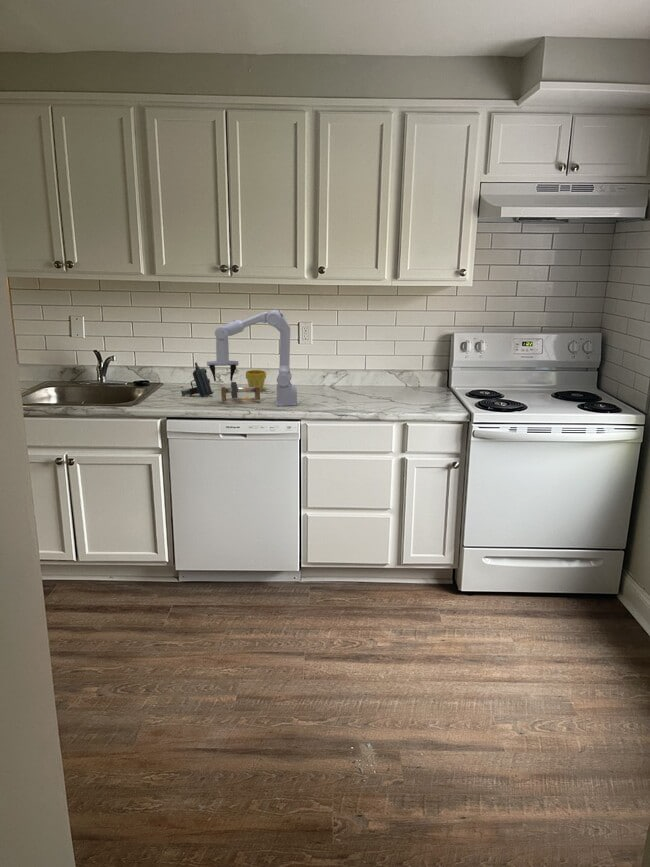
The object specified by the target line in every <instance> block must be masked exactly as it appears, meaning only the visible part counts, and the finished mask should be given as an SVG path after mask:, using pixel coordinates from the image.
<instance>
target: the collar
mask: <svg viewBox="0 0 650 867" xmlns="http://www.w3.org/2000/svg"><path fill="white" fill-rule="evenodd" d="M237 387H238V383H237V381H230V388H232V393H231V398H238V392H237Z"/></svg>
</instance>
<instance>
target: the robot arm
mask: <svg viewBox="0 0 650 867" xmlns="http://www.w3.org/2000/svg"><path fill="white" fill-rule="evenodd" d="M259 323H262V324H266V323H267V324H268V325H269V326H271V327H273V328H275V329H276V330H277V331H278V332H279V369H278V374H277V377H276V383H277V384H276V400H275V401H274V403H275V405H276V406H277V407H280V406H281V407H286V406H298V404H297V403H298V398H297V396H298V392H297V390H298V389H297V385H293V383H292V382H291V380H292V376H293V375H292V374H291V373H292V372H291V368H290V361H291V360H290V357H291V356H290V354H291V353H290V352H291V351H290V350H291V326H290V324H289V323H288V321H287V319H286V318H285V315H284V314H283V313H282V312H281V311H280V310H278V309H272V310H270V311H269V310H268V311H264V312H260V313H258V314H256V315H253V316H252V317H249V318H245V319H244V320H240V319H235V318H234V319H232V321H231V322H227V323H223V325H220V326H218V327H217V328H216V329H215V330H214V336H215V349H216V350H215V354H216V355H215V357H216V360H209V361H206V366H207V367H209V369H210V371H211V374H212V376H213V381H214V382H217V379H216V367H217V366H218V367H219V366H220V367H222V366H223V367H224V366H230V368H229V369H230V371H229V372H230V378H229V380H230V382H233V379H234V378H233V377H234V374H235V371H236V369H237V367H239V361H238V360H229V358H230V357H229V355H230V354H229V351H230V350H229V346H230V345H229V337H231V336H235V335H237V334H240V333H242V332H244V331H245V328H247V327H250V326H253V325H256V324H259Z"/></svg>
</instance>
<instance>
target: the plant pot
mask: <svg viewBox="0 0 650 867" xmlns="http://www.w3.org/2000/svg"><path fill="white" fill-rule="evenodd" d="M266 378H267V371H265V370H262V369H251V370H250V369H249V370H247V371H245V379H246V380H247V384H248V387H255V386H259V387H260V392H262V391H263V390H264V385H265V380H266Z"/></svg>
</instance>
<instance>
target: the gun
mask: <svg viewBox="0 0 650 867" xmlns="http://www.w3.org/2000/svg"><path fill="white" fill-rule="evenodd" d="M194 365H195V368H194V370H193V372H192V378H193V379H192V380H191V381H190V386H191V387H190V388H188V389H185V390H184V389H183V390H181V391H180V392H181V396H182V397H185V396H188V395H189V396H190V397H192V396H193V395H199V396H200V397H201V398H203V397H206V396H211V395H214V391H212V386H211V384H210V383H211V379H210V378H208V375H207V373H208V371H207V369H206V368H205V367H203V368H202V367H201V368H200V366H199V365H198V362H197V361H196V362H194ZM193 382H194V383H195V384H194V383H193ZM194 386H195V387H194Z"/></svg>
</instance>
